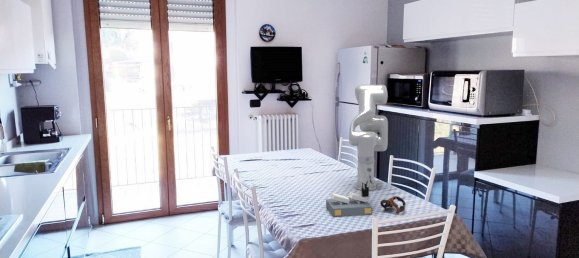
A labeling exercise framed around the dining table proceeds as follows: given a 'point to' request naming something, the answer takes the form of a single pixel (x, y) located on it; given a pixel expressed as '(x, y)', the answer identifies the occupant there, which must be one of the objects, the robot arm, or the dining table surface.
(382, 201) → the brown looped piece
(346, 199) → the rocker
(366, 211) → the switch unit
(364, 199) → the rocker
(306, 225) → the dining table surface
